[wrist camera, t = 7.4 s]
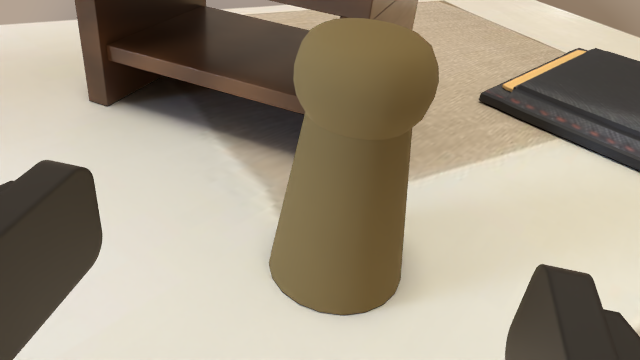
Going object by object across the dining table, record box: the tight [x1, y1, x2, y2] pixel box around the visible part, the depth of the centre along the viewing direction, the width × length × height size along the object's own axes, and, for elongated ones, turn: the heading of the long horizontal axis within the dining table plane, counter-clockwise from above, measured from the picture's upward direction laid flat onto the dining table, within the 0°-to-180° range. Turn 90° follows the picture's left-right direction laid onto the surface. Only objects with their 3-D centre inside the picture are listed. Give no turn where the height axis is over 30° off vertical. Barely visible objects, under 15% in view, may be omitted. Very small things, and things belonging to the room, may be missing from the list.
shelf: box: [75, 0, 418, 115], centre depth 35 cm, size 18×12×10 cm, turn 68°
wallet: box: [479, 48, 640, 171], centre depth 43 cm, size 20×2×15 cm
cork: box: [269, 18, 439, 315], centre depth 21 cm, size 6×6×11 cm
